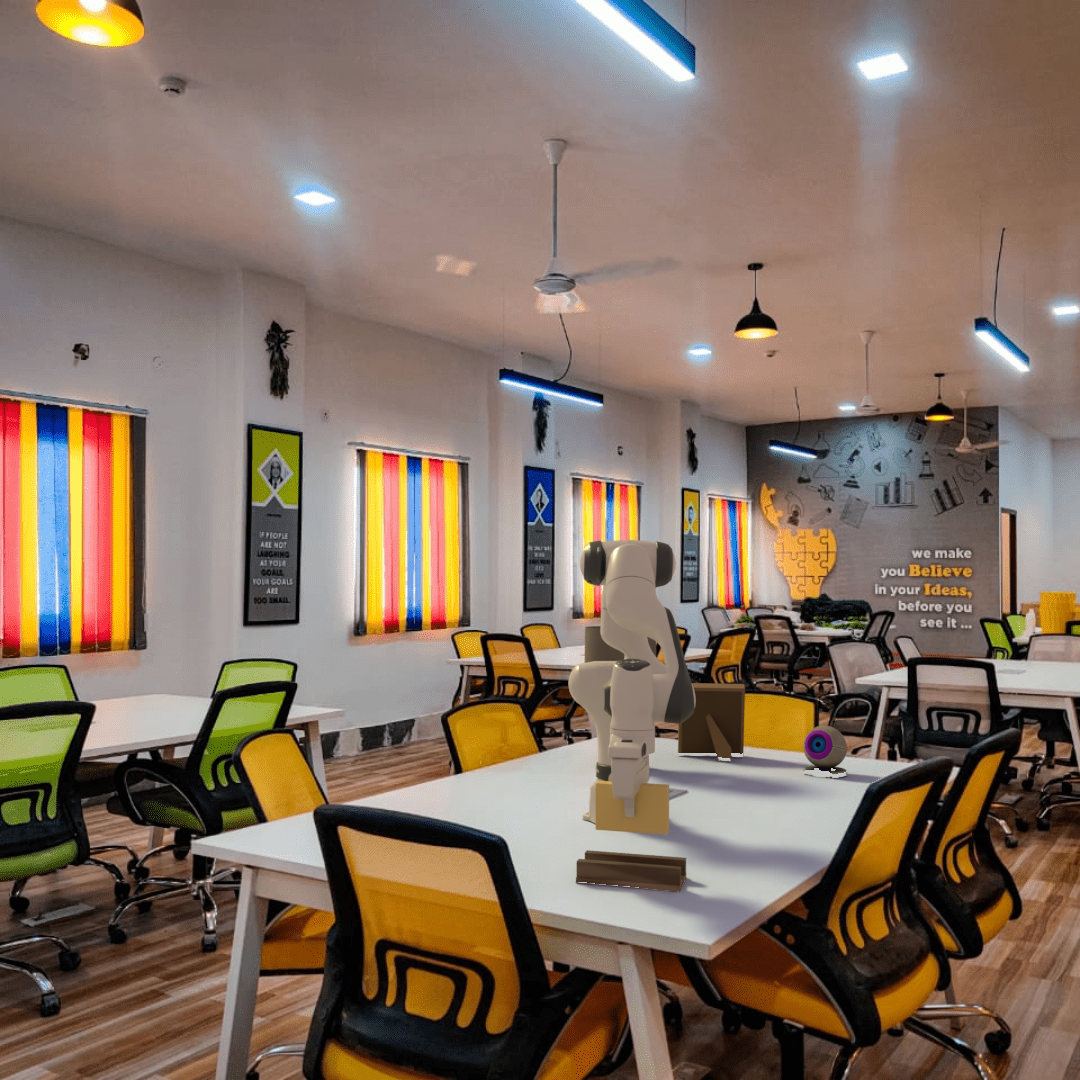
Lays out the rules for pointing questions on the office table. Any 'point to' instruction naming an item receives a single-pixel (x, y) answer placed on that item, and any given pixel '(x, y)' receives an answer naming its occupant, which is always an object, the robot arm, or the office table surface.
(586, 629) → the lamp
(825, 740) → the webcam
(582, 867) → the sliding track
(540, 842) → the office table surface
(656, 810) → the door panel
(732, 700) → the photo frame
